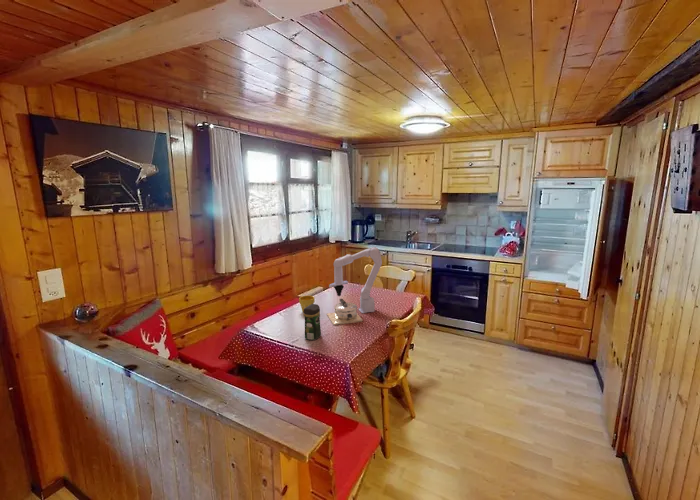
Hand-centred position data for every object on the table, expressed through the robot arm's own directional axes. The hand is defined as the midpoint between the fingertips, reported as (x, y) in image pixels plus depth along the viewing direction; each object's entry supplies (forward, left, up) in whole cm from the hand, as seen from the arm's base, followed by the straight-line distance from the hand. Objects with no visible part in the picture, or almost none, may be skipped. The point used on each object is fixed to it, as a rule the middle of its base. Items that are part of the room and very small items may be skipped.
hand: (338, 295), depth 224 cm
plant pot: (+21, -5, -11) cm, 24 cm away
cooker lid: (-1, +12, -4) cm, 13 cm away
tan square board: (+1, +13, -10) cm, 16 cm away
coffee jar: (+25, +36, -11) cm, 45 cm away
